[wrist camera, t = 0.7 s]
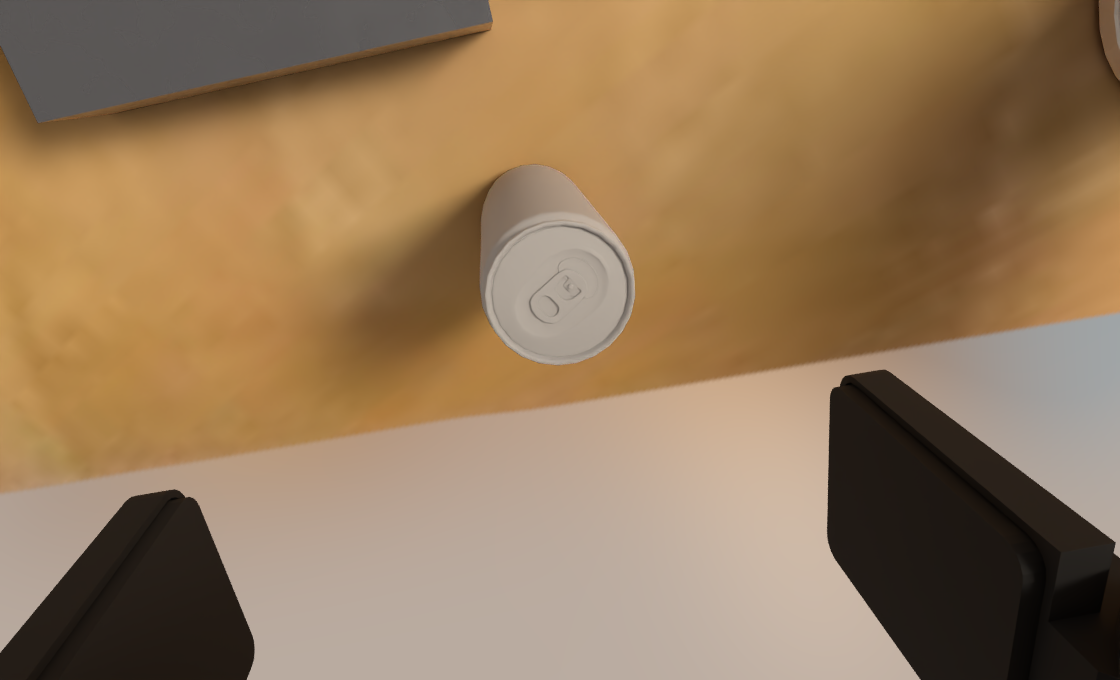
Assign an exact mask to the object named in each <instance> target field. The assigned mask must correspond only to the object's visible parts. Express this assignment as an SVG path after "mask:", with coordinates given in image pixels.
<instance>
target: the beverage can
mask: <svg viewBox="0 0 1120 680" xmlns="http://www.w3.org/2000/svg"><path fill="white" fill-rule="evenodd" d="M480 292H481V299H482V307H483V309H484V312H485V314H486V316H487V318H488V321H489V323H490V325H491V326H492V328H493V329H494V331H495V332H496V334H497V335H498V336H499V337H500V338H501V340H502V341H503V342H504V343H505V345H506V346H508V347H509V348H510V349H512V350H513V351H515V352H516V353H517V354H519V355H520V356H522V357H524V358H527V359H530V360H532V361H535V362H537V363H542V364H551V365H564V364H572V363H578V362H580V361H583V360H586V359H588V358H591V357H593V356H595V355H597V354H598V353H600V352H601V351H603V350H604V349H605V348H607V347H608V346H610V345H611V344H612V343H613V341H614V340H615V339H616V338H617V337H618V336H619V335H620V334H621V332H622V331H623V329H624V327H625V325H626V324H627V322H628V320H629V318H630V316H631V313H632V308H633V304H634V299H635V282H634V270H633V267H632V264H631V261H630V258H629V255H628V252H627V250H626V249H625V247H624V246H623V244H622V243H621V241H620V240H619V238H618V237H617V235H616V234H615V233H614V231H613V230H612V229H611V228H610V227H609V225H608V224H607V223H606V222H605V220H604V219H603V218H602V217H601V216H600V214H599V213H598V212H597V211H596V209H595V208H594V207H593V206H592V204H591V203H590V202H589V201H588V200H587V198H586V197H585V196H584V195H583V193H582V192H581V191H580V190H579V189H578V187H577V186H576V185H575V184H574V182H573V181H572V180H570V179H569V178H568V177H567V176H566V175H564V174H563V173H562V172H560V171H558V170H556V169H554V168H551V167H549V166H543V165H537V164H532V165H522V166H519V167H516V168H514V169H511V170H509V171H507V172H506V173H504V174H503V175H502V176H500V177H499V178H498V179H497V180H496V181H495V182H494V184H493V185H492V187H491V188H490V190H489V191H488V194H487V197H486V199H485V202H484V204H483V210H482V216H481V256H480Z"/></svg>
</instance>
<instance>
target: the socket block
mask: <svg viewBox="0 0 1120 680" xmlns="http://www.w3.org/2000/svg"><path fill="white" fill-rule="evenodd" d="M492 23H493V20H492V15H491V11H490V6H489V2H488V0H0V46H1V48H2V50H3V52H4V54H5V56H6V58H7V60H8V62H9V64H10V66H11V68H12V71H13V73H14V75H15V77H16V79H17V81H18V83H19V85H20V87H21V89H22V91H23V93H24V95H25V97H26V99H27V101H28V103H29V106H30V108H31V110H32V112H33V114H34V116H35V118H36V120H37V122H38V123H43V122H51V121H59V120H67V119H75V118H84V117H92V116H100V115H108V114H114V113H119V112H123V111H128V110H132V109H136V108H141V107H145V106H150V105H154V104H159V103H163V102H168V101H172V100H177V99H181V98H186V97H190V96H195V95H199V94H204V93H208V92H213V91H217V90H222V89H226V88H231V87H235V86H240V85H244V84H249V83H253V82H258V81H262V80H266V79H271V78H275V77H280V76H284V75H289V74H293V73H298V72H302V71H307V70H311V69H316V68H320V67H325V66H329V65H334V64H338V63H343V62H347V61H352V60H356V59H361V58H365V57H370V56H374V55H379V54H383V53H388V52H392V51H396V50H401V49H405V48H410V47H414V46H419V45H423V44H428V43H432V42H437V41H441V40H446V39H450V38H455V37H459V36H464V35H468V34H473V33H477V32H482V31H486V30H491V27H492Z"/></svg>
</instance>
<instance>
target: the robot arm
mask: <svg viewBox="0 0 1120 680" xmlns="http://www.w3.org/2000/svg"><path fill="white" fill-rule="evenodd" d="M1099 24H1100V34H1101V38H1102V43H1103V47H1104V51H1105V55H1106V57H1107V60H1108V62H1109V64H1110V66H1111V68H1112V70H1113V72H1114V74H1115V76H1116V77H1117V79H1118V80H1119V81H1120V0H1099ZM828 472H829V473H828V517H827V520H828V521H827V537H828V543H829V546H830V549H831V552H832V554H833V556H834V558H835V560H836V561H837V563H838V564H839V565H840V567H841V568H842V570H843V571H844V572H845V574H846V575H847V576H848V578H849V579H850V581H851V582H852V584H853V585H854V586H855V588H856V589H857V591H858V592H859V593H860V595H861V596H862V598H863V599H864V600H865V602H866V603H867V605H868V606H869V607H870V609H871V610H872V612H873V613H874V614H875V616H876V617H877V619H878V620H879V622H880V623H881V624H882V626H883V627H884V629H885V630H886V632H887V633H888V634H889V636H890V637H891V638H892V640H893V641H894V643H895V644H896V646H897V647H898V648H899V650H900V651H901V652H902V654H903V655H904V657H905V658H906V660H907V661H908V662H909V664H910V665H911V667H912V668H913V669H914V671H915V672H916V674H917V675H918V677H919V678H920V679H921V680H1120V558H1119V557H1118V556H1116V555H1115V554H1114V553H1113V552H1114V548H1115V542H1114V541H1113V540H1112V539H1110V538H1109V537H1108V536H1106V535H1105V534H1103V533H1102V532H1101V531H1100V530H1098V529H1097V528H1095V527H1094V526H1093V525H1092V524H1090V523H1089V522H1088V521H1086V520H1085V519H1084V518H1082V517H1081V516H1080V515H1078V514H1077V513H1076V512H1074V511H1073V510H1072V509H1071V508H1069V507H1068V506H1067V505H1065V504H1064V503H1063V502H1061V501H1060V500H1059V499H1057V498H1056V497H1055V496H1053V495H1052V494H1051V493H1049V492H1048V491H1047V490H1045V489H1044V488H1043V487H1041V486H1040V485H1039V484H1037V483H1036V482H1035V481H1033V480H1032V479H1031V478H1029V477H1028V476H1027V475H1025V474H1024V473H1023V472H1021V471H1020V470H1019V469H1017V468H1016V467H1015V466H1014V465H1012V464H1011V463H1010V462H1008V461H1007V460H1006V459H1004V458H1003V457H1001V456H1000V455H999V454H998V453H996V452H995V451H994V450H992V449H991V448H990V447H988V446H987V445H986V444H984V443H983V442H982V441H980V440H979V439H978V438H976V437H975V436H973V435H972V434H971V433H970V432H968V431H967V430H966V429H964V428H963V427H962V426H960V425H959V424H958V423H957V422H955V421H954V420H953V419H951V418H950V417H949V416H947V415H946V414H945V413H943V412H942V411H941V410H939V409H938V408H936V407H935V406H934V405H933V404H931V403H930V402H929V401H927V400H926V399H925V398H923V397H922V396H921V395H919V394H918V393H917V392H915V391H914V390H913V389H911V388H910V387H909V386H908V385H906V384H905V383H903V382H902V381H901V380H899V379H898V378H897V377H896V376H894V375H893V374H892V373H890V372H889V371H887V370H878V371H871V372H866V373H860V374H854V375H848V376H845V377H844V378H843V379H842V381H841V384H840V387H835V388H834V389H832V391H831V395H830V425H829V470H828ZM253 660H254V640H253V637H252V634H251V631H250V629H249V626H248V624H247V621H246V619H245V617H244V614H243V612H242V609H241V607H240V604H239V602H238V600H237V597H236V595H235V592H234V590H233V588H232V585H231V582H230V580H229V578H228V575H227V573H226V571H225V568H224V565H223V564H222V561H221V558H220V556H219V553H218V551H217V548H216V546H215V544H214V541H213V539H212V536H211V534H210V531H209V529H208V526H207V524H206V521H205V519H204V517H203V514H202V512H201V509H200V507H199V505H198V503H197V501H195V499H193V498H191V497H187V498H185V496H184V495H183V494H182V493H181V492H180V491H178V490H168V491H162V492H157V493H150V494H144V495H138V496H134V497H131V498H129V499H128V500H127V501H126V502H125V503H124V504H123V506H122V507H121V508H120V509H119V510H118V512H117V513H116V514H115V515H114V516H113V518H112V519H111V520H110V521H109V522H108V524H107V525H106V526H105V527H104V529H103V530H102V531H101V532H100V533H99V534H98V536H97V537H96V538H95V539H94V541H93V542H92V543H91V544H90V545H89V546H88V548H87V549H86V550H85V551H84V553H83V554H82V555H81V556H80V557H79V559H78V560H77V561H76V562H75V563H74V565H73V566H72V567H71V568H70V569H69V571H68V572H67V573H66V574H65V575H64V577H63V578H62V579H61V580H60V581H59V583H58V584H57V585H56V586H55V587H54V589H53V590H52V591H51V592H50V594H49V595H48V596H47V597H46V598H45V600H44V601H43V602H42V603H41V604H40V606H39V607H38V608H37V609H36V610H35V612H34V613H33V614H32V615H31V616H30V618H29V619H28V620H27V621H26V623H25V624H24V625H23V626H22V627H21V629H20V630H19V631H18V632H17V633H16V635H15V636H14V637H13V638H12V639H11V641H10V642H9V643H8V644H7V645H6V647H5V648H4V649H3V650H2V651H1V653H0V680H247V677H248V675H249V672H250V670H251V667H252V664H253Z"/></svg>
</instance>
